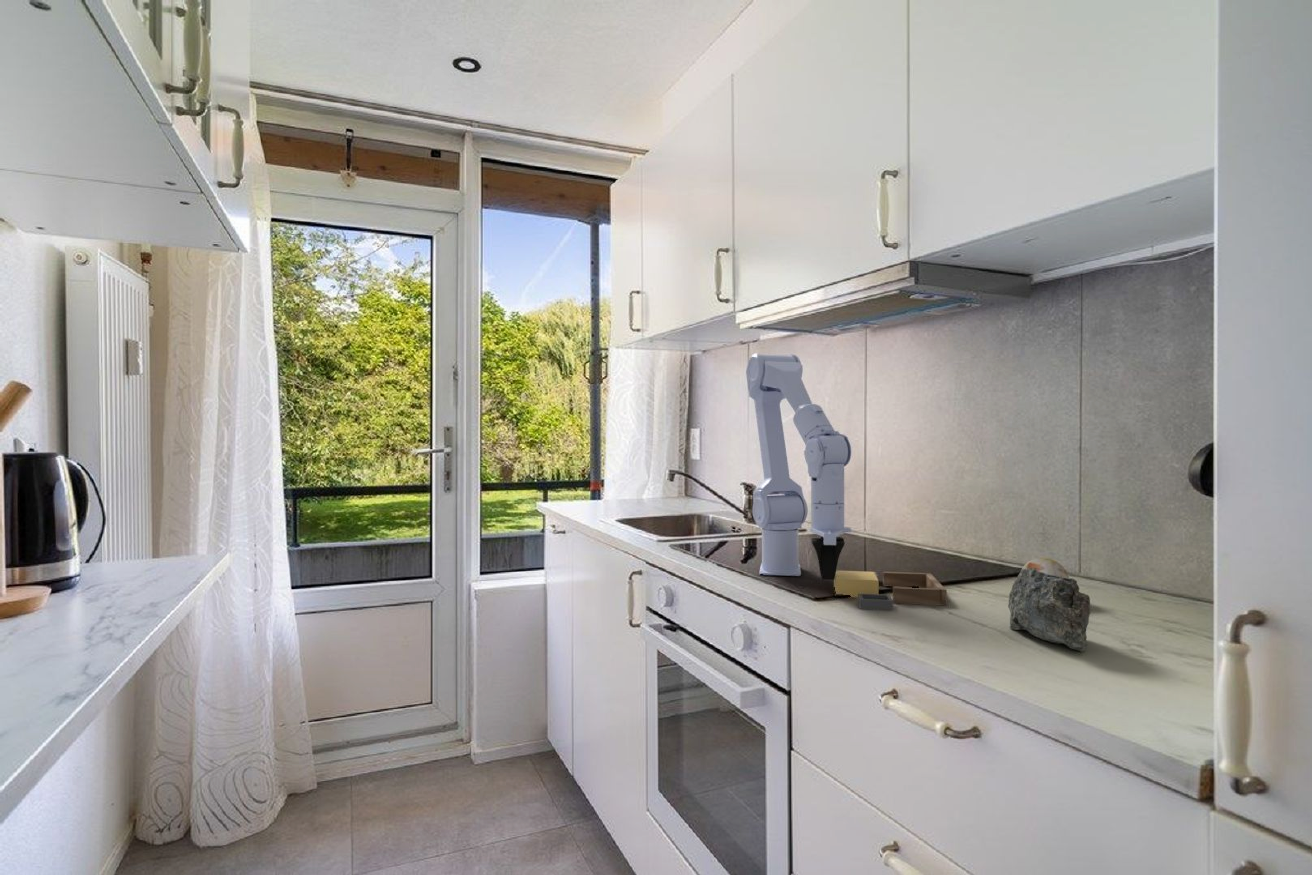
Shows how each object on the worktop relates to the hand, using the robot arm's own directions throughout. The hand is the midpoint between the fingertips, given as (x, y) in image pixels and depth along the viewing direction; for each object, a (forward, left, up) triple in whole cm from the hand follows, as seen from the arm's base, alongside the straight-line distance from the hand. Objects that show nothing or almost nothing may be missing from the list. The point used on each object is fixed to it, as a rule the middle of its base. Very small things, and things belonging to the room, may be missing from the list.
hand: (827, 579), depth 122 cm
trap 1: (-9, +7, -2) cm, 12 cm away
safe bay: (0, +14, -2) cm, 14 cm away
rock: (+23, +27, -2) cm, 36 cm away
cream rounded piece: (+3, +35, -3) cm, 35 cm away
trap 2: (+9, +7, -2) cm, 12 cm away
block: (0, +5, -3) cm, 5 cm away
